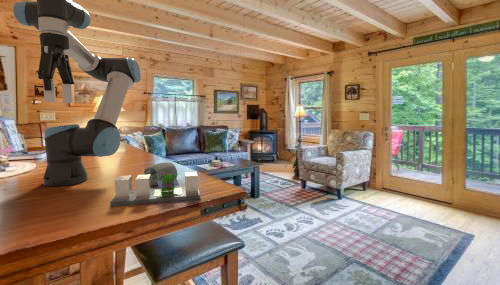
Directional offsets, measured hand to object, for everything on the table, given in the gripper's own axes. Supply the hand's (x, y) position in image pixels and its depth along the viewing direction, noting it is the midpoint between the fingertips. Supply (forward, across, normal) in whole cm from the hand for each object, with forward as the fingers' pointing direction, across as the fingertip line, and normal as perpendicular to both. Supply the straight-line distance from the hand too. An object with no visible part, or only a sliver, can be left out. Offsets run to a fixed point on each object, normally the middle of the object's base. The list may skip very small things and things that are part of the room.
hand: (59, 102), depth 87 cm
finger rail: (+32, -9, -30) cm, 45 cm away
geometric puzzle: (+30, -9, -33) cm, 46 cm away
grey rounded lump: (+32, +10, -30) cm, 45 cm away
